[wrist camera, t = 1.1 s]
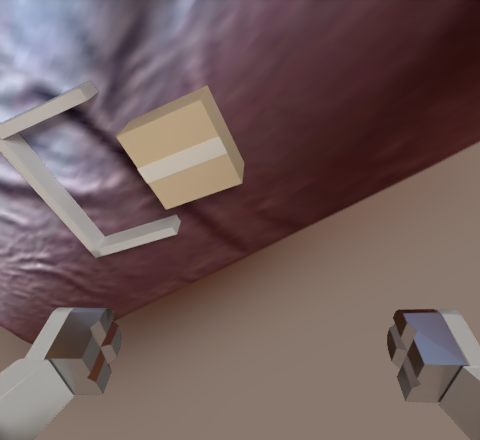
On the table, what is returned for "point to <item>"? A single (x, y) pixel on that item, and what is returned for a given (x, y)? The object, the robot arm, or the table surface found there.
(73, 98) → the light gray u-shaped bracket
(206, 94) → the carton
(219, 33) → the table surface
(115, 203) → the table surface
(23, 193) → the table surface
